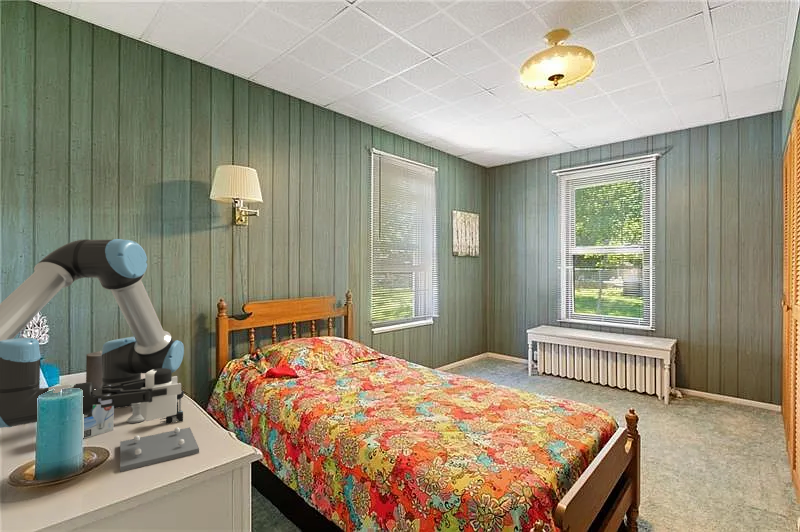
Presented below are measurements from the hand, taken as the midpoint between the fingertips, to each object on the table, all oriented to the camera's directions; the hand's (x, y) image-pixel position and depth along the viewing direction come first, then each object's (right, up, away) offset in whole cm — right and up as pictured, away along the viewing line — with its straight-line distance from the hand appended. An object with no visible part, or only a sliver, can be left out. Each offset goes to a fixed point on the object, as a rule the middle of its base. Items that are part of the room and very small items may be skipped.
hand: (178, 384), depth 110 cm
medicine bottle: (-4, -7, -3) cm, 9 cm away
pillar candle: (-63, -17, +55) cm, 85 cm away
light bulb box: (-31, -17, +8) cm, 36 cm away
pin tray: (-4, -17, -3) cm, 17 cm away
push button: (-11, -17, +17) cm, 26 cm away
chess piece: (-23, -17, +18) cm, 34 cm away
